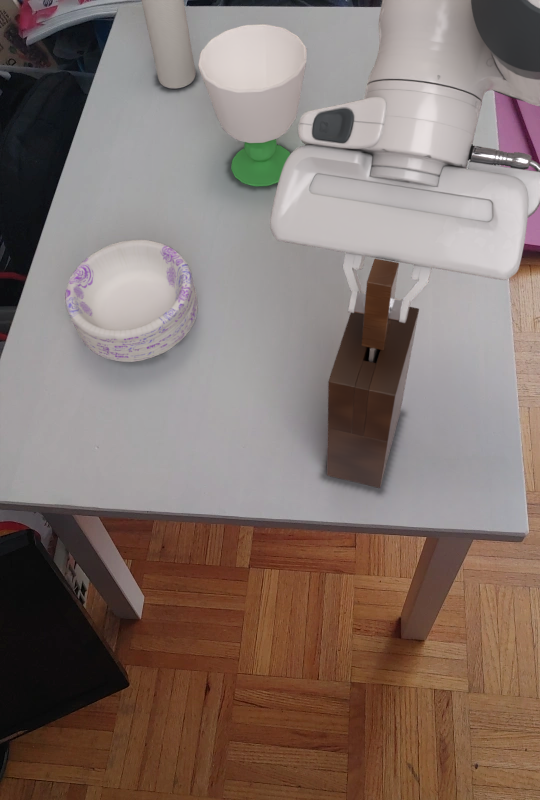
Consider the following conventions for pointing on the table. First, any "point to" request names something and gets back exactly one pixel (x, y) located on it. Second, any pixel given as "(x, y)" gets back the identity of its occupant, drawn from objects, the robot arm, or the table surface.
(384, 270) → the knife
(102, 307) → the paper bowls
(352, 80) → the table surface
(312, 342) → the table surface
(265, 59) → the cup
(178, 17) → the paper towel roll
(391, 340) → the knife block
